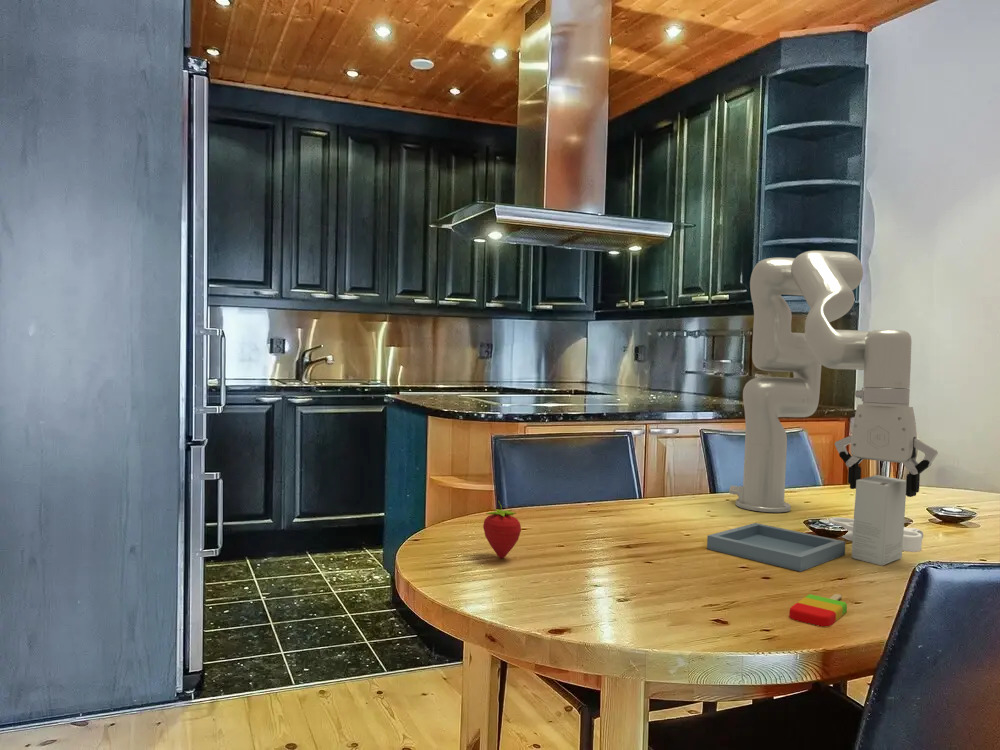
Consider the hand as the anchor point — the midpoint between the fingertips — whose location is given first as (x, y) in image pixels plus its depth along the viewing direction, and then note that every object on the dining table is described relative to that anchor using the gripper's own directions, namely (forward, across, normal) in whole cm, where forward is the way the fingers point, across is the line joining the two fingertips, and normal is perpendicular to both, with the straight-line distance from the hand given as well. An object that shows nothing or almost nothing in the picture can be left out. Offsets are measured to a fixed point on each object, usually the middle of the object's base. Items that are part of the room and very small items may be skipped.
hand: (882, 492), depth 136 cm
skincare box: (+13, -1, 0) cm, 13 cm away
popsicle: (+14, +5, -36) cm, 39 cm away
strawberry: (+13, -42, -56) cm, 70 cm away
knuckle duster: (+13, -7, +16) cm, 22 cm away
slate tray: (+12, -15, -10) cm, 22 cm away
